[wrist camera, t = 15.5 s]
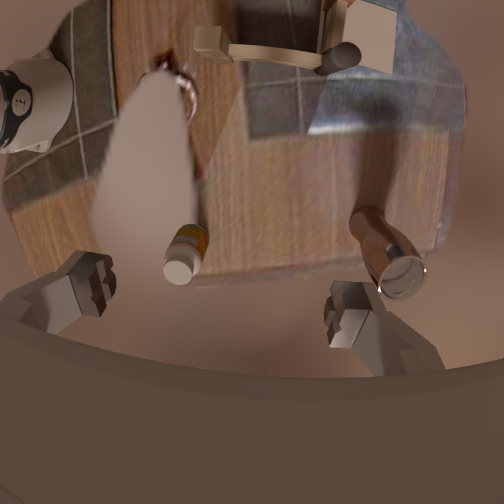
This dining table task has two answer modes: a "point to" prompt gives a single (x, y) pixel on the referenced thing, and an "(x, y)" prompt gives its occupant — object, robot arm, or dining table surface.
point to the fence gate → (334, 22)
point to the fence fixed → (272, 52)
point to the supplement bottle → (185, 254)
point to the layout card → (367, 33)
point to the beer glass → (387, 255)
